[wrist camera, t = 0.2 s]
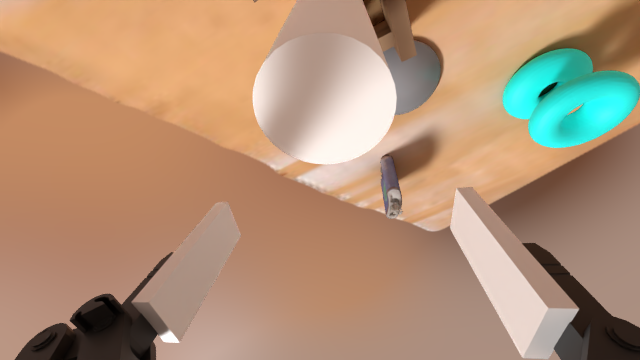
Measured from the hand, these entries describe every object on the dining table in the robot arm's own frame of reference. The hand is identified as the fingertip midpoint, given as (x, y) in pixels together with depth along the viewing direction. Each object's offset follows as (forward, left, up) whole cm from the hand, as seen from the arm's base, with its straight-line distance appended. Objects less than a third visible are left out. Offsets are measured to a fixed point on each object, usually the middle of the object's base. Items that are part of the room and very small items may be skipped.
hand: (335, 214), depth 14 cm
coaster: (-2, +10, -28) cm, 30 cm away
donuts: (-13, +27, -28) cm, 41 cm away
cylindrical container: (-4, -4, -28) cm, 28 cm away
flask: (+13, +22, -28) cm, 38 cm away
